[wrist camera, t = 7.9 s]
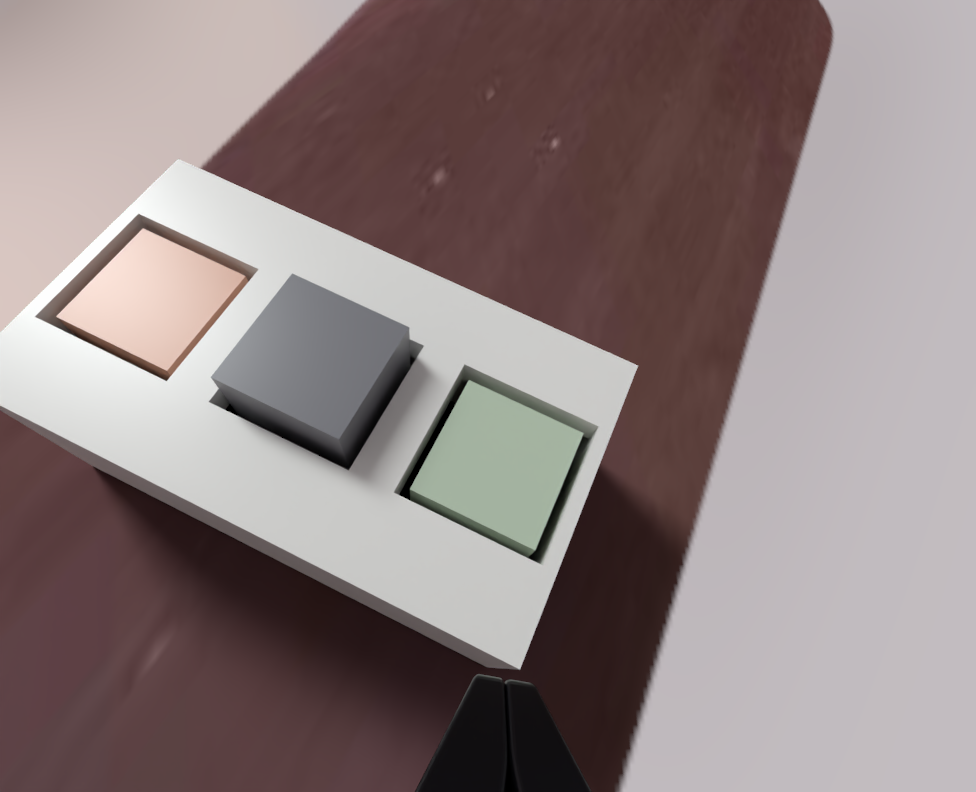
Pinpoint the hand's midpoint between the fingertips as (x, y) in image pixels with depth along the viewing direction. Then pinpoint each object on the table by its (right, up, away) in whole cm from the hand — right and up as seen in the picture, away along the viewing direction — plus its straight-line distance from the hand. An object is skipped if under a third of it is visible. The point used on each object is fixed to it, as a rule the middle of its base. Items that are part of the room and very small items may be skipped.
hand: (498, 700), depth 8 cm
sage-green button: (0, +1, +10) cm, 10 cm away
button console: (-6, +2, +14) cm, 15 cm away
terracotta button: (-10, +6, +11) cm, 16 cm away
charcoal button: (-5, +4, +9) cm, 11 cm away
